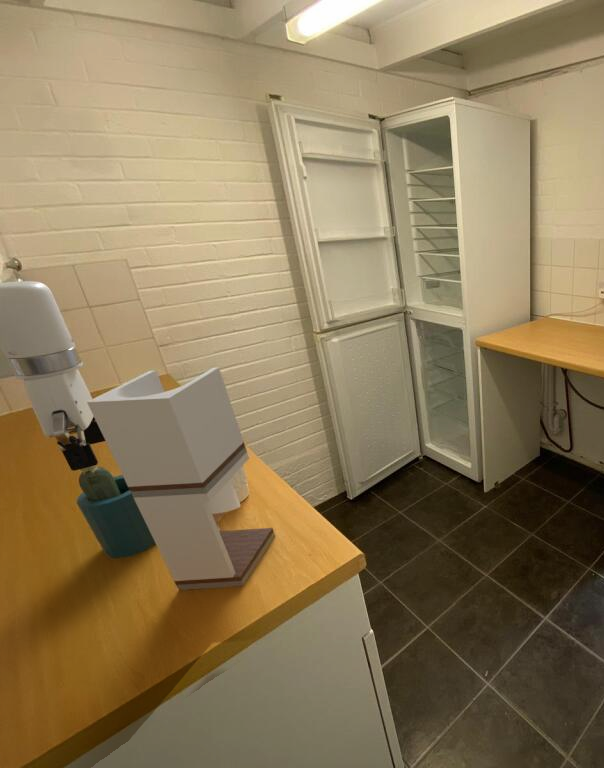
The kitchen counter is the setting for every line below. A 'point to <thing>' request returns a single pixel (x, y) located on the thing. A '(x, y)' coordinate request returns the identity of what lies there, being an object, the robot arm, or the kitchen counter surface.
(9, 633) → the kitchen counter surface
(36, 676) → the kitchen counter surface
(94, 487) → the vegetable
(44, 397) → the robot arm
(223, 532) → the white coffee maker
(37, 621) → the kitchen counter surface
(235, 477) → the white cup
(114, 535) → the jar
